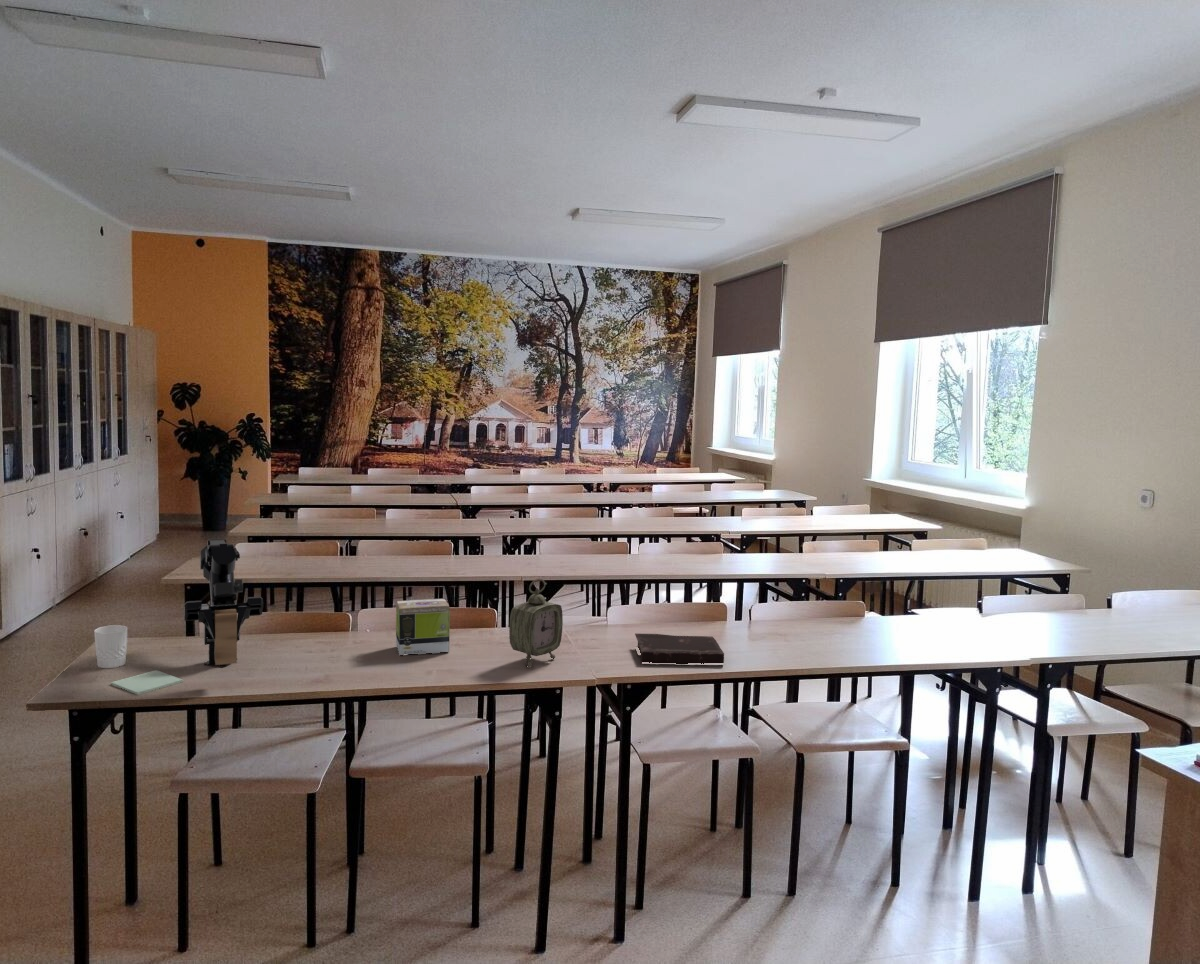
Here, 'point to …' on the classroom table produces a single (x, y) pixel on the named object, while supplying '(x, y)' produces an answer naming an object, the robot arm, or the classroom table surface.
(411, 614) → the tea box
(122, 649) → the white cup
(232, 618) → the walnut block
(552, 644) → the tabletop clock
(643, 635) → the diary
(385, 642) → the classroom table surface
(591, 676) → the classroom table surface
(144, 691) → the green mat
